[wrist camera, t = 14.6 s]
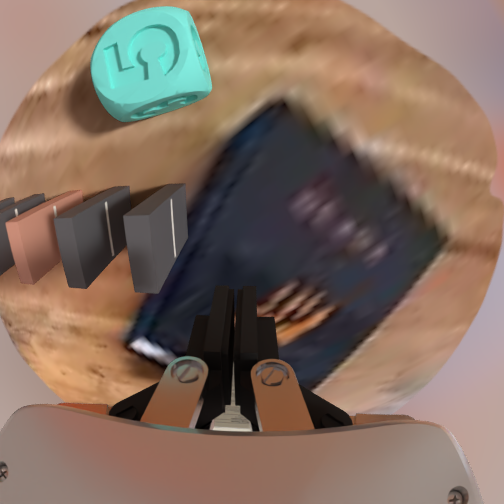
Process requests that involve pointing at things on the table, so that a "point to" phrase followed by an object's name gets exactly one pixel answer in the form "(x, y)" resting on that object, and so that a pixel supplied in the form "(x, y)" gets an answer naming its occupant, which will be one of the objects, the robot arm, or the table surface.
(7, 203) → the domino
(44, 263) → the domino
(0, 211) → the domino
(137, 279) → the domino
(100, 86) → the decorative dice
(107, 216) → the domino
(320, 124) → the table surface
